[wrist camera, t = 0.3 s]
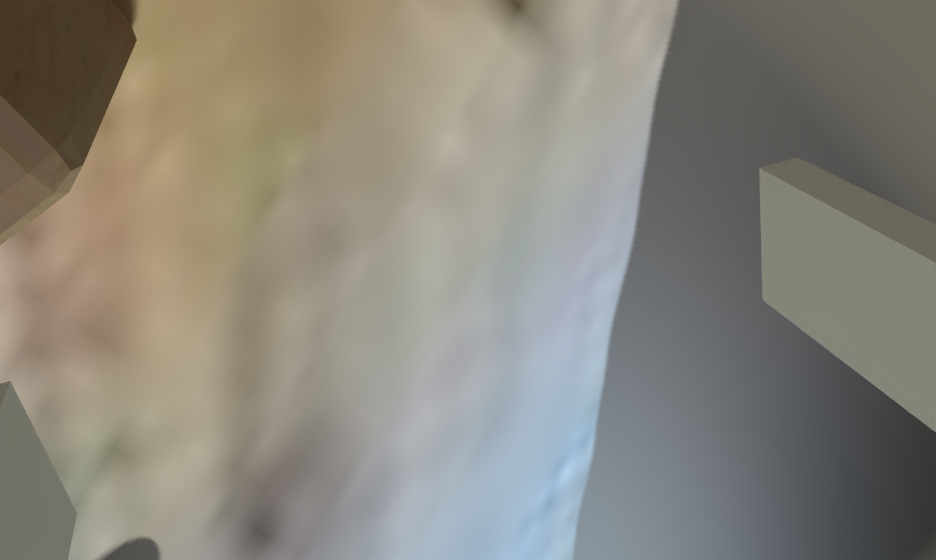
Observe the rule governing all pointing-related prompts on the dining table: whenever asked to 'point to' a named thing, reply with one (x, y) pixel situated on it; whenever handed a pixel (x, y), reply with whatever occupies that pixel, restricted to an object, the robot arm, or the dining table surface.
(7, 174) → the wooden block
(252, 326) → the dining table surface
